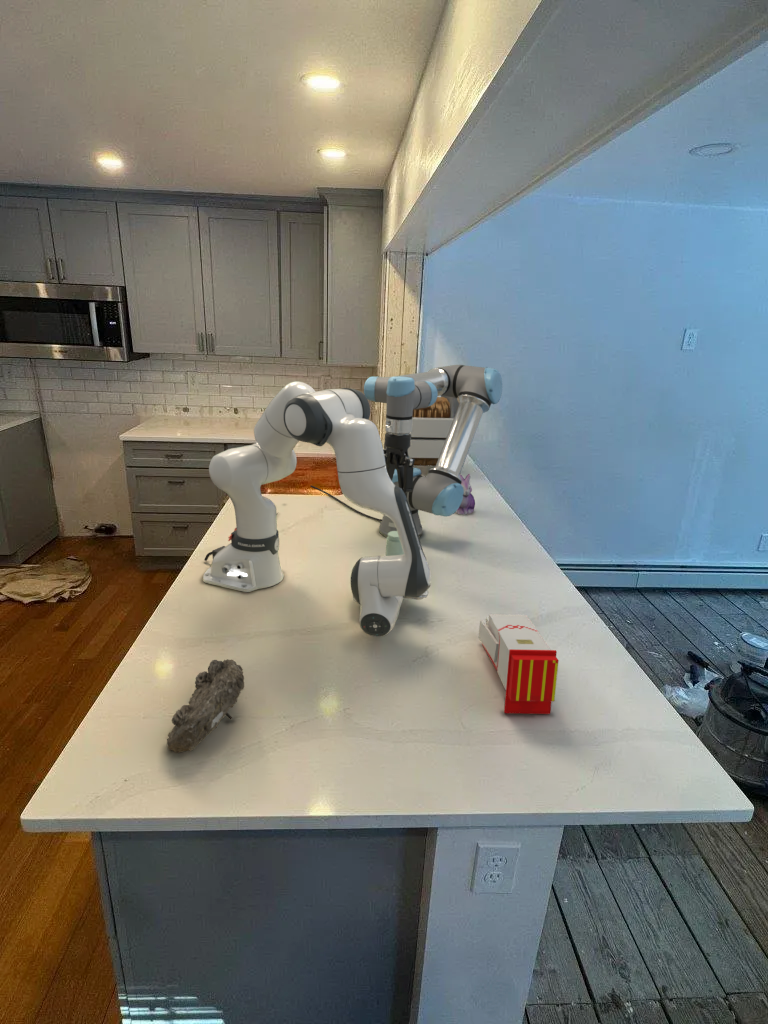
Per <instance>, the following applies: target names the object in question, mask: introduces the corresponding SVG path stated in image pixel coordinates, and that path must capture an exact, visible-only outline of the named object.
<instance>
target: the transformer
mask: <svg viewBox="0 0 768 1024" xmlns="http://www.w3.org/2000/svg"><path fill="white" fill-rule="evenodd" d="M458 407H459V403H458V401H457V398H452V397H447V396H437V400H436V402H435V403H434V404H433V405H431V406H428V407H427V408H420V409H414V410H413V415H412V432H411V433H409V434H411V446H410V447H409V448H408V456H409V457H410V458H414V459H415V463H414V466H413V467H415V466H416V467H417V466H418V467H435V466H436V464H437V461H438V459H439V456H440V453H441V451H442V448H443V446H444V443H445V440H446V438H447V435H448V433H449V430H450V427H451V425H452V422H453V420H454V417H455V415H456V412H457V409H458ZM386 433H387V432H386V431H385V434H386ZM383 449H387V447H386V446H385V441H384V442H383ZM402 466H403V465H402ZM399 467H400V466H399ZM460 475H462V474H461V473H460Z"/></svg>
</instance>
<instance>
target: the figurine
mask: <svg viewBox="0 0 768 1024" xmlns="http://www.w3.org/2000/svg"><path fill="white" fill-rule="evenodd" d="M459 476H460V478H461V480H462V483H461V485H462V486H463V489H464V494H463V500H462V502H461V505H460V506H459V508H458V509H457V511H456V512H455V513H456V514H458V515H470V514H472V513H474V511H475V507H476V500H475V497H474V495H473V494H472V492H473V488H472V485H471V483H470V481H471V474H470V473H468V474H467V475H466V476H465V478H464V476H463V475H462V474H460V475H459Z"/></svg>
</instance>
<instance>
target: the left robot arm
mask: <svg viewBox="0 0 768 1024" xmlns="http://www.w3.org/2000/svg"><path fill="white" fill-rule="evenodd" d="M370 417H371V406H370V402H369V400H368V399H367V398H366V396H365V395H364V392H362V391H361V390H358V389H355V388H350V387H341V388H327V389H322V390H318V391H316V390H315V389H314V388H313V387H312V386H311V385H309V384H308V383H306V382H303V381H298V380H297V381H295V380H294V381H291V382H289V383H287V384H285V385H284V386H283V387H282V388H281V389H280V390H279V391H278V392H277V393H276V395H275V396H274V397H273V398H272V400H271V401H270V402H269V404H268V405H267V406H266V408H265V409H264V411H263V412H262V414H261V415H260V417H259V419H258V420H257V422H256V424H255V425H254V427H253V436H254V440H255V442H254V443H252V444H249V445H244V446H238V447H232V448H228V449H226V450H223V451H220V452H219V453H217V454H214V456H212V458H210V462H209V465H208V475H209V478H210V480H211V482H212V484H213V485H214V486H215V487H216V488H217V489H218V490H221V491H222V492H223V493H225V494H226V496H228V497H229V499H230V501H231V503H232V505H233V509H234V515H235V525H236V526H235V528H234V530H233V531H232V532H231V533H230V535H229V536H228V540H227V541H228V542H230V543H229V544H227V545H222V546H220V547H217V548H214V549H213V550H211V551H209V552H208V553H207V554H206V555H205V556H204V559H203V561H205V562H207V561H208V560H209V558H210V556H212V560H211V565H210V567H208V568H207V570H206V571H205V572H204V573H203V577H202V581H203V583H205V584H209V585H214V586H218V587H222V588H227V589H231V590H235V591H239V592H242V593H250V592H251V593H252V592H253V591H256V590H261V589H266V588H270V587H273V586H275V585H278V584H279V583H280V582H282V581H283V579H284V578H285V574H284V571H283V567H282V565H281V561H280V555H279V550H280V538H279V537H280V535H279V530H278V519H277V517H278V514H277V513H278V511H277V505H276V504H275V503H274V502H273V500H271V498H268V497H266V496H264V495H263V494H262V489H261V487H262V485H267V484H270V483H274V482H278V481H281V480H283V479H285V478H286V477H289V476H290V475H292V474H293V473H294V472H295V471H296V468H297V463H298V459H297V454H296V451H295V448H296V446H297V445H298V443H299V442H303V443H308V444H312V445H315V446H316V447H323V446H324V445H325V444H326V443H327V444H328V445H330V447H331V448H332V449H333V451H334V455H335V463H336V471H337V478H338V484H339V487H340V488H339V489H340V491H341V493H342V495H343V496H344V497H345V498H346V499H347V501H349V502H350V503H352V504H354V505H355V506H356V507H359V508H362V509H366V510H369V511H371V512H372V511H373V512H375V513H378V514H381V515H382V516H383V515H385V516H387V517H389V518H390V519H391V520H392V521H393V522H394V524H395V526H396V529H397V532H398V535H399V539H400V542H401V545H402V549H403V552H404V554H402V555H392V556H386V555H371V556H361V557H360V558H359V559H357V561H356V562H355V563H354V565H353V567H352V570H351V574H350V590H351V593H352V601H353V602H355V603H357V604H358V605H359V607H360V610H359V626H360V629H361V630H362V631H363V632H364V633H365V634H367V635H369V636H371V637H383V636H386V635H388V634H389V633H390V632H391V631H392V630H393V629H394V627H395V625H396V623H397V620H398V618H399V615H400V609H401V607H402V604H403V600H404V599H407V600H415V601H420V600H423V599H426V598H428V596H429V588H430V587H431V584H432V583H431V581H432V571H431V568H430V564H429V562H428V560H427V557H426V554H425V552H424V549H423V546H422V543H421V539H420V537H419V536H418V533H417V529H416V526H415V523H414V519H413V516H412V513H411V510H410V507H409V504H408V501H407V498H406V496H405V494H404V492H403V490H402V489H401V488H400V487H398V486H395V485H394V483H393V482H392V481H391V479H390V477H389V475H388V473H387V469H386V463H385V456H384V451H383V449H384V445H383V442H382V438H381V435H380V432H379V429H378V426H377V425H376V423H374V422H373V421H372V420H370Z"/></svg>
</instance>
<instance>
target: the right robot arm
mask: <svg viewBox="0 0 768 1024" xmlns="http://www.w3.org/2000/svg"><path fill="white" fill-rule="evenodd" d="M363 394H364V395H365V396H366V398H367V400H368V401H370V402H374V403H381V404H386V407H385V409H386V411H385V412H386V413H385V427H384V428H385V433H384V442H385V446H386V447H387V449H384V448H383V451H384V456H385V463H386V469H387V473H388V475H389V477H390V479H391V481H392V482H393V483H394V485H395V486H398V487H400V488H401V489H402V490H403V492H404V494H405V496H406V498H407V501H408V504H409V507H410V510H411V513H412V516H413V519H414V523H415V526H416V529H417V533H418V536H419V538H420V537H421V536H422V535H423V525H422V524H421V518H420V515H419V511H421V512H425V513H429V514H431V515H432V514H433V515H435V516H440V517H450V516H452V515H453V514H455V513H456V511H457V509H458V508H459V506H460V505H461V502H462V500H463V494H464V489H463V486H462V485H461V483H462V480H461V478H460V476H459V475H461V474H460V473H461V472H462V470H463V468H464V465H465V462H466V459H467V457H468V454H469V452H470V450H471V446H472V443H473V440H474V437H475V435H476V434H477V430H478V427H479V425H480V422H481V419H482V417H483V415H484V414H485V413H487V412H489V410H490V408H491V405H495V404H498V403H499V402H500V400H501V398H502V394H503V378H502V374H501V373H500V371H499V370H498V369H496V368H492V367H488V366H485V367H484V366H483V367H482V366H475V365H474V366H473V365H464V364H450V365H445V366H438V367H432V368H430V369H428V371H424V372H417V373H416V372H415V373H409V374H408V373H407V374H401V375H393V376H384V377H383V376H379V375H378V376H369V377H368V378H367V379H366V380H365V382H364V385H363ZM441 396H447V397H452V398H457V401H458V403H459V407H458V409H457V412H456V415H455V417H454V420H453V422H452V425H451V427H450V430H449V433H448V435H447V438H446V440H445V443H444V446H443V448H442V451H441V453H440V456H439V459H438V461H437V464H436V466H433V467H432V468H429V470H428V472H427V474H426V475H422V470H421V469H420V468H418V467H415V466H414V463H415V459H414V458H410V457H409V456H408V448H409V447H410V446H411V434H409V433H411V432H412V415H413V410H414V409H420V408H427V407H428V406H431V405H433V404H434V403H435V402H436V400H437V397H441ZM386 432H387V433H386ZM402 465H403V466H402ZM399 466H400V467H399ZM310 488H312V489H313V490H317V491H319V492H322V493H323V494H325V495H328V496H329V497H331V498H333V499H334V500H335V501H337V502H338V503H340V504H342V505H343V506H345V507H346V508H348V509H350V510H352V511H354V512H355V513H357V514H359V515H362V516H364V517H366V518H369V519H371V520H374V521H378V522H379V526H378V533H379V534H380V535H381V536H382V537H385V538H387V537H388V533H389V532H391V531H397V529H396V526H395V524H394V522H393V521H392V520H391V519H390V518H389V517H387V516H385V515H383V514H382V519H381V518H377V517H374V516H371V515H368V514H366V513H364V512H362V511H360V510H357V509H356V508H354V507H352V506H350V505H348V504H347V503H345V502H343V501H342V500H340V499H338V498H337V497H335V496H334V495H332V494H331V493H329V492H327V491H325V490H323V489H321V488H318V487H317V486H314V485H310Z"/></svg>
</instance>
